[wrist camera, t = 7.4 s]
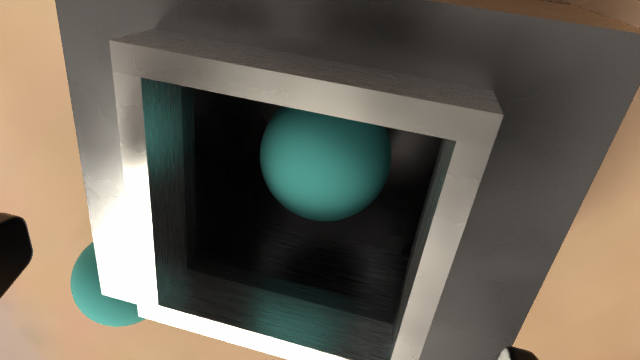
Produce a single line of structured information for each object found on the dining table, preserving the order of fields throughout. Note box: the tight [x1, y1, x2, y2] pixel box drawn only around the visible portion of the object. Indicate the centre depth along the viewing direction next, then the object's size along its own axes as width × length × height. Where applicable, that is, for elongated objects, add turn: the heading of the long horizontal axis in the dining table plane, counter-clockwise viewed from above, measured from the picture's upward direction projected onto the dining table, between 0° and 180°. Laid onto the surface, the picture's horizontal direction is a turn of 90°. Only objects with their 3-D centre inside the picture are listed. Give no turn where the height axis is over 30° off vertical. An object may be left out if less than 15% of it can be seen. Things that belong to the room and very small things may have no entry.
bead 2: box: [260, 106, 391, 221], centre depth 13 cm, size 4×4×4 cm
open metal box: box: [55, 0, 640, 360], centre depth 12 cm, size 12×10×7 cm
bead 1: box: [71, 242, 146, 327], centre depth 19 cm, size 4×4×4 cm
